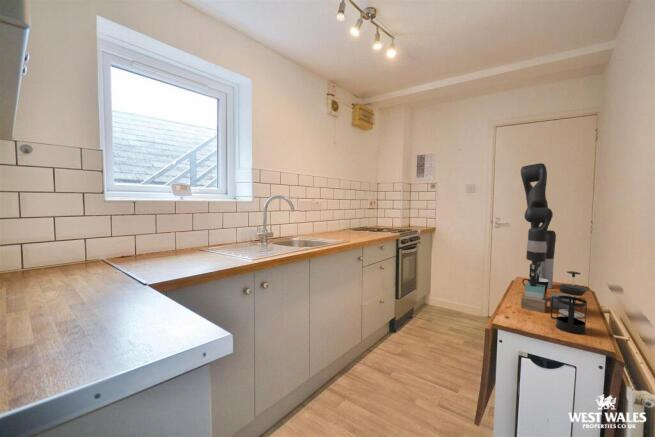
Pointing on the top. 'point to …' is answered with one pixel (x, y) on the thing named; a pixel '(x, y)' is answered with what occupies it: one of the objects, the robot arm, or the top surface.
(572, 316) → the french press
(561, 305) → the stand
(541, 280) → the coffee mug
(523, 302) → the stand
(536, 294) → the teal rectangular block
